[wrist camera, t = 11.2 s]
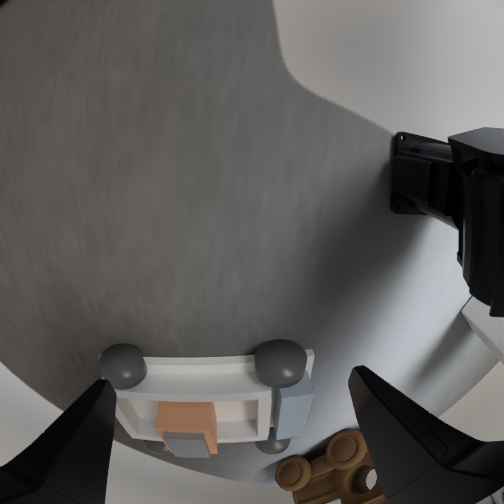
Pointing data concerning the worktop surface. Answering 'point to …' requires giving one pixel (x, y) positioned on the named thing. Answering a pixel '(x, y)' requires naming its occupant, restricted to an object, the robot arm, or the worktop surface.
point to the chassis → (216, 392)
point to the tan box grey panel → (188, 428)
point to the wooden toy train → (332, 473)
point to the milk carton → (486, 326)
